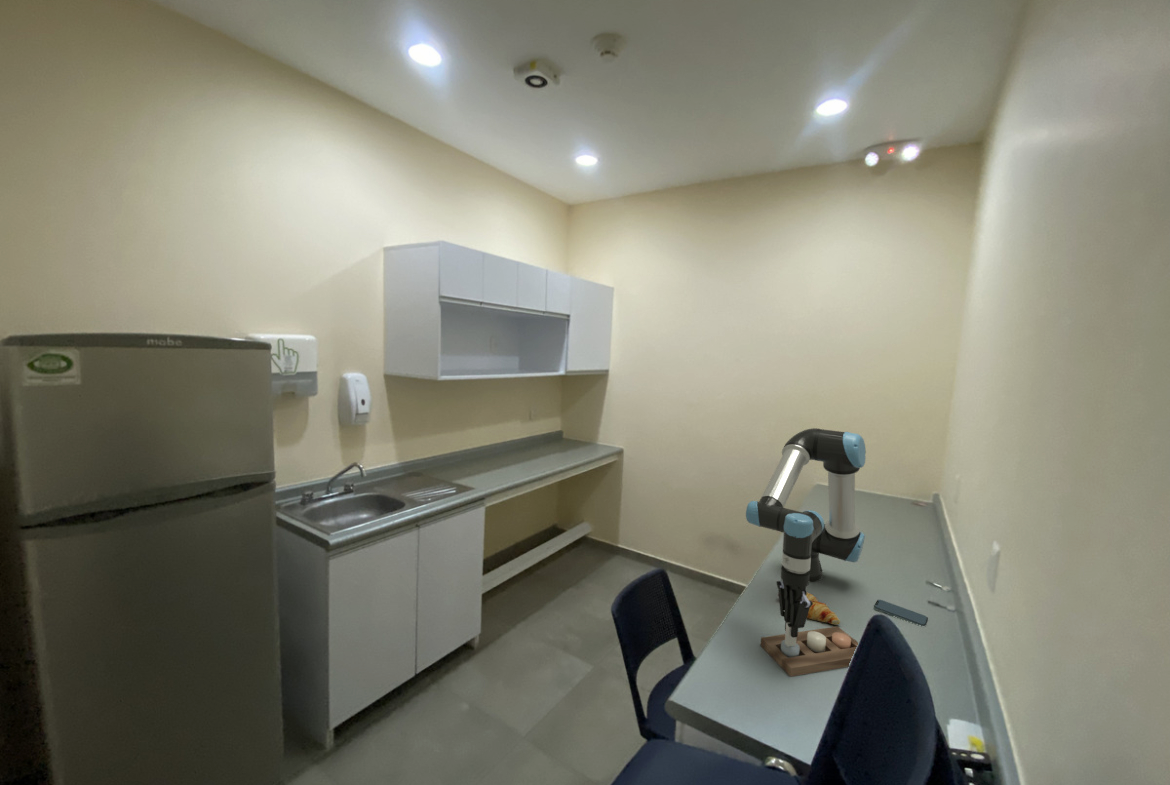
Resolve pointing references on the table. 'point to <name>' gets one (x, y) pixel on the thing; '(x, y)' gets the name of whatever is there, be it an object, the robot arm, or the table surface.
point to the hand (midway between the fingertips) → (790, 644)
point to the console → (810, 653)
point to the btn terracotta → (841, 640)
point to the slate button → (789, 650)
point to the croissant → (821, 611)
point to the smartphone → (900, 612)
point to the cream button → (816, 641)
